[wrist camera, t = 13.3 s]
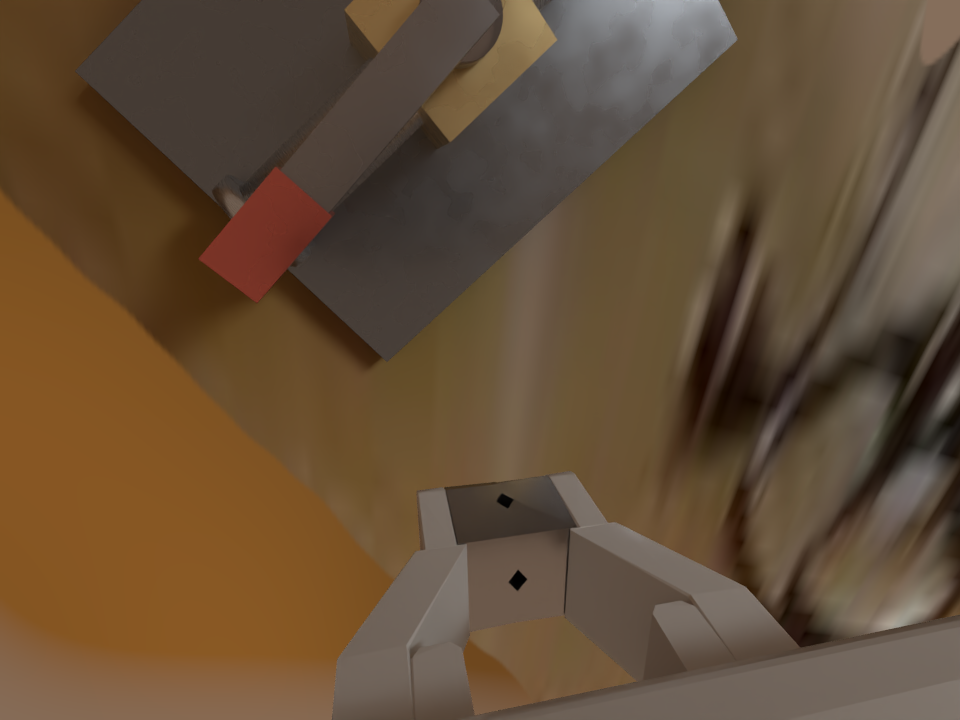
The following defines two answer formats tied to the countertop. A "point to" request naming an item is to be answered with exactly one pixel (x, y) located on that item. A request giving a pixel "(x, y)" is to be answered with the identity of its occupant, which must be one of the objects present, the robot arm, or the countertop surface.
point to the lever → (350, 141)
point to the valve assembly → (424, 139)
